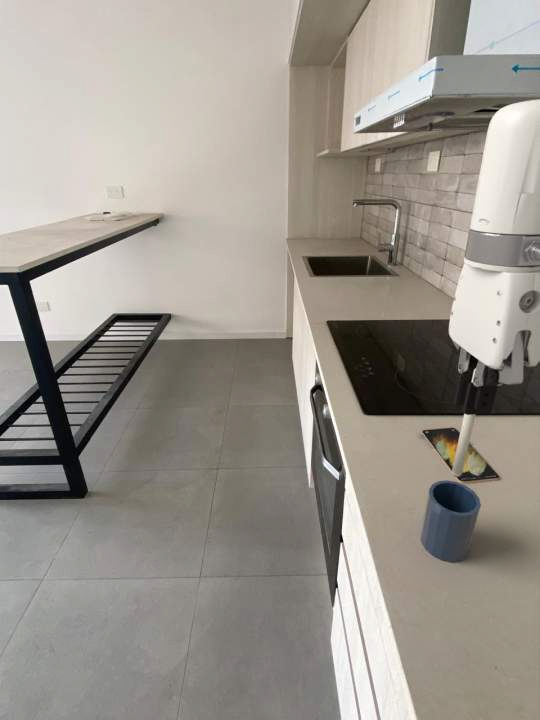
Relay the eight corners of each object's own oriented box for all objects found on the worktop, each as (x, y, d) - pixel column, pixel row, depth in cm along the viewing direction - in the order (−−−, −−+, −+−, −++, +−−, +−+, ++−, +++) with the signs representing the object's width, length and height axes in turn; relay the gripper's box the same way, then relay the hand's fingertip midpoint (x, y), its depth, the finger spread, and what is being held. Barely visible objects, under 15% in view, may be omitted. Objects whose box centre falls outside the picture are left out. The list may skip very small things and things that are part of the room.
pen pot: (453, 525, 59) (464, 478, 55) (476, 562, 53) (490, 513, 49) (413, 529, 58) (421, 482, 54) (432, 566, 53) (442, 517, 49)
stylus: (458, 472, 52) (482, 364, 45) (462, 479, 51) (488, 369, 44) (449, 473, 52) (472, 365, 45) (453, 479, 51) (478, 370, 44)
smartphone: (454, 427, 80) (501, 478, 66) (454, 429, 80) (500, 481, 66) (420, 429, 79) (460, 481, 66) (420, 432, 79) (459, 484, 66)
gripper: (611, 264, 32) (549, 446, 40) (496, 237, 46) (467, 376, 54) (523, 268, 32) (478, 452, 39) (434, 239, 46) (414, 379, 53)
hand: (472, 407), depth 47 cm, fingers closed on stylus, 1 cm apart
